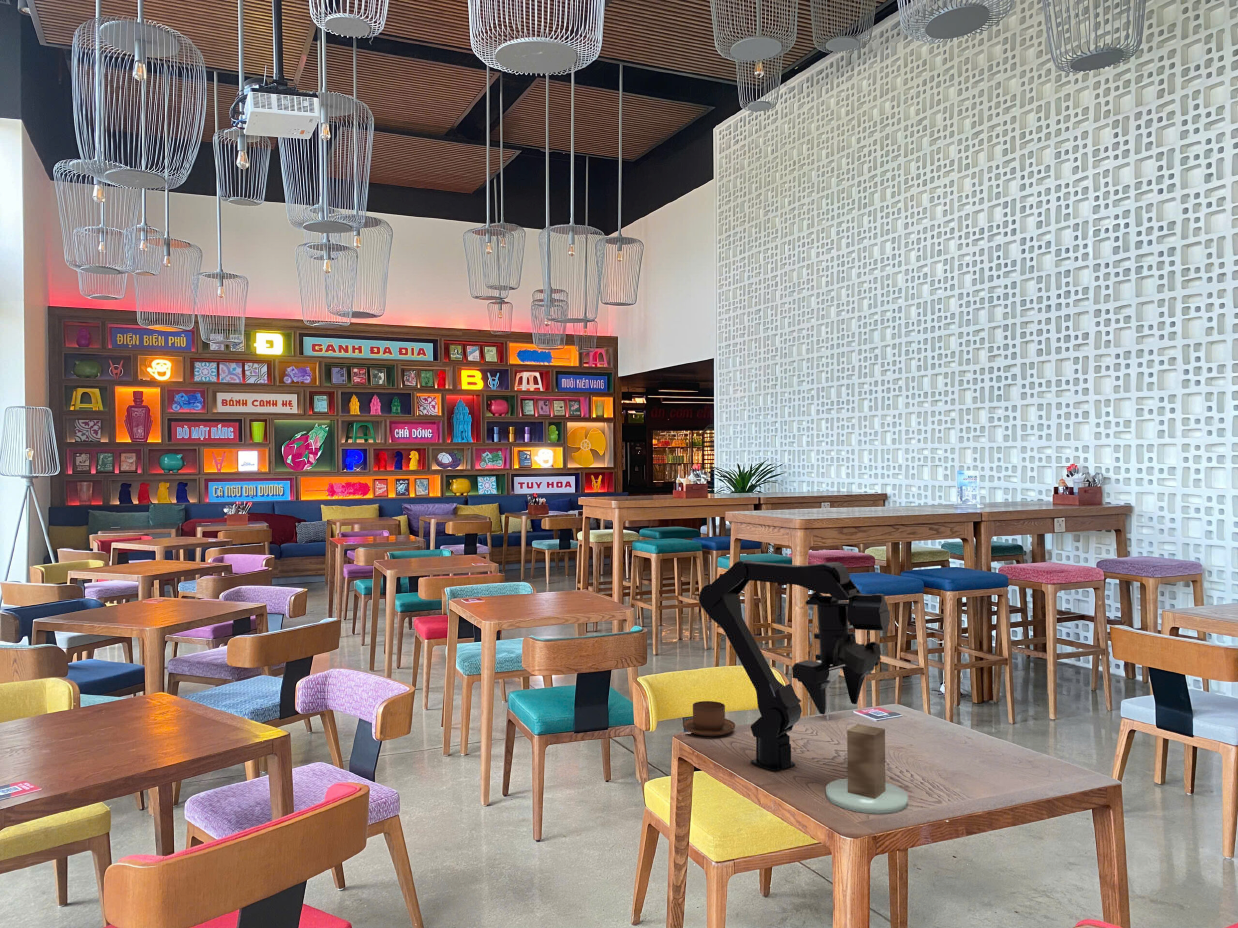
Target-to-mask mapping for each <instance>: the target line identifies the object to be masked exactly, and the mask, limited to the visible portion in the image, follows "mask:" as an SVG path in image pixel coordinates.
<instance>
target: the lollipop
mask: <svg viewBox="0 0 1238 928" xmlns="http://www.w3.org/2000/svg"><path fill="white" fill-rule="evenodd" d="M816 662H820V663H821V661H820V660H816ZM830 666H831V665H830ZM840 673H841V668H839V669H836V670H832V671H829V677H828V678H827V680H829V681H830V683H831V682H833V681H836V680H837V679H838V677H839V676H840ZM829 703H830V701H829V684H828V685H827V687H826V721H829V719H830V715H829V712H830V711H829V710H830V709H829V707H830V706H829ZM827 715H829V716H827Z"/></svg>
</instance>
